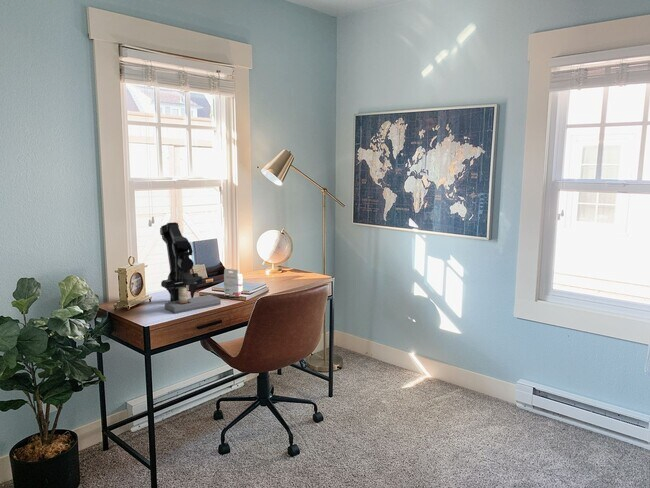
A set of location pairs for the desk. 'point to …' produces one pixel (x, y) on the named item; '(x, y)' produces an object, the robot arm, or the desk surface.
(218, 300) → the board
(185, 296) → the beech peg
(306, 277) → the desk surface
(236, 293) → the ink cartridge box
